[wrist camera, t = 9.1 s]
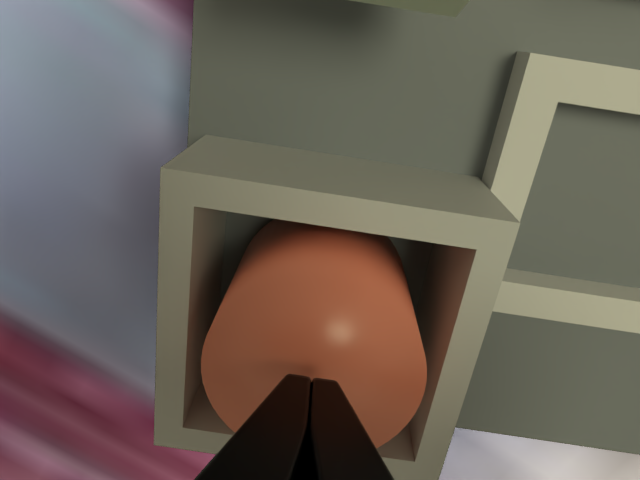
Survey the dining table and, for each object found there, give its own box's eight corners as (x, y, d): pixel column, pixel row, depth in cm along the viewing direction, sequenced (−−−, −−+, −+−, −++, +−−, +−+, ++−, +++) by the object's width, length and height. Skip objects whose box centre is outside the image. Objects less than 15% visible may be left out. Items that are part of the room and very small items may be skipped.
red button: (387, 365, 13) (400, 475, 10) (232, 341, 13) (195, 445, 10) (421, 221, 11) (451, 294, 8) (246, 193, 11) (207, 257, 8)
